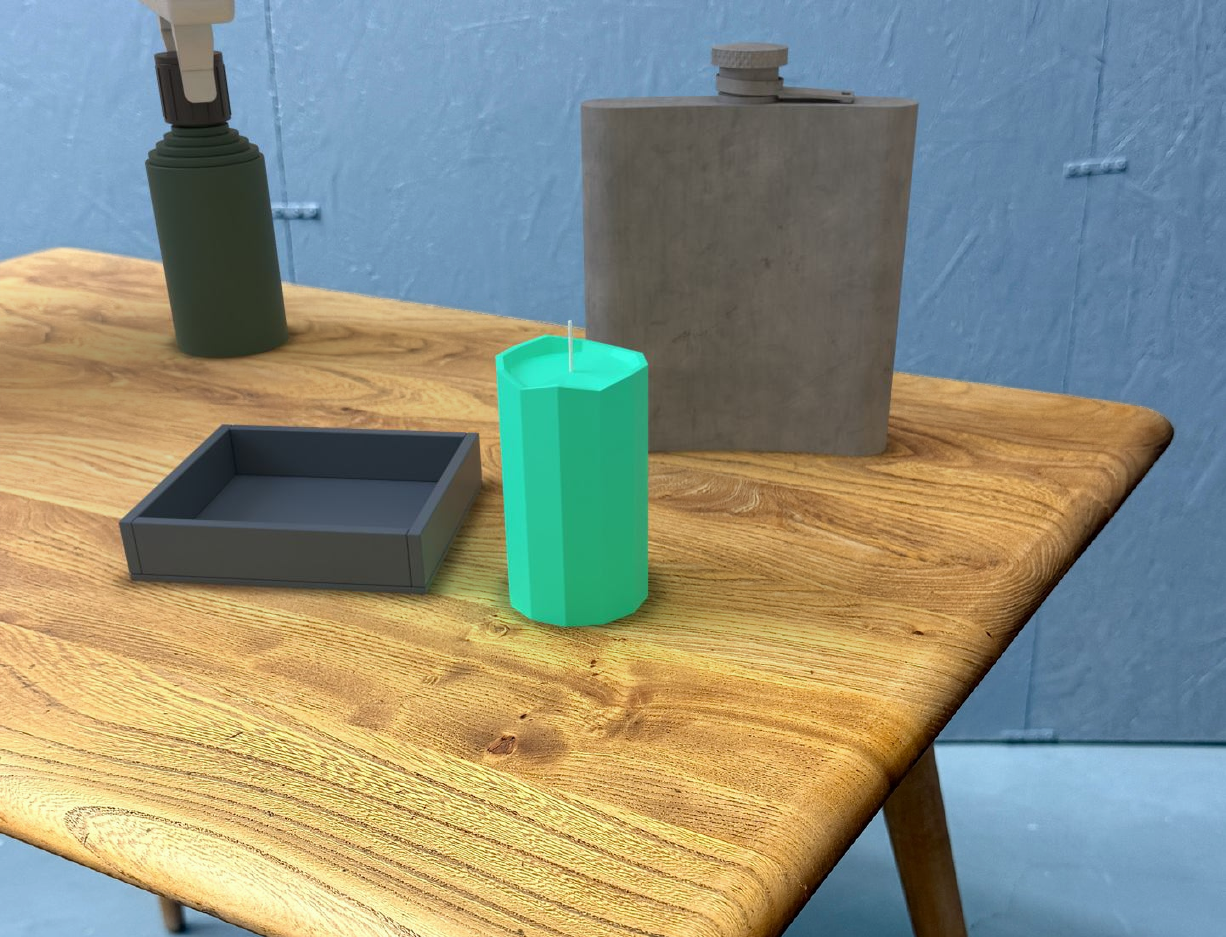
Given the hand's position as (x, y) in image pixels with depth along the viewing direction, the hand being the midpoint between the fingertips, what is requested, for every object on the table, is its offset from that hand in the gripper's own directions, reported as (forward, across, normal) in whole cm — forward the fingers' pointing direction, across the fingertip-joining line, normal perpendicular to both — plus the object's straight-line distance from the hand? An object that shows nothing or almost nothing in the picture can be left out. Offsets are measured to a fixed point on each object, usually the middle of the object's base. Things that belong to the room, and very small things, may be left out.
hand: (194, 95), depth 80 cm
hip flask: (+16, -30, -22) cm, 40 cm away
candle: (+16, -43, -8) cm, 46 cm away
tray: (+16, -32, +1) cm, 35 cm away
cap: (+1, 0, 0) cm, 1 cm away
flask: (+16, 0, 0) cm, 16 cm away
